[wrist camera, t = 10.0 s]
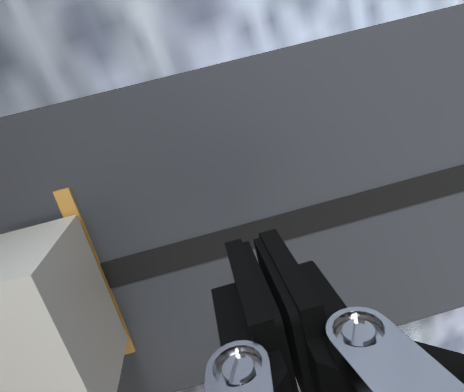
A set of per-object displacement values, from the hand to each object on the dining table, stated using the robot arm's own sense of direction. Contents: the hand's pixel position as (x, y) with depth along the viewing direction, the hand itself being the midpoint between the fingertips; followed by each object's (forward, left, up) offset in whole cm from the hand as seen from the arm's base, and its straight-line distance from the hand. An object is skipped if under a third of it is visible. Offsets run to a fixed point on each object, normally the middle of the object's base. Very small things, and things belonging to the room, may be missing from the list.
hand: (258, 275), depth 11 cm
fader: (+1, -7, -4) cm, 8 cm away
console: (+1, 0, -7) cm, 7 cm away
